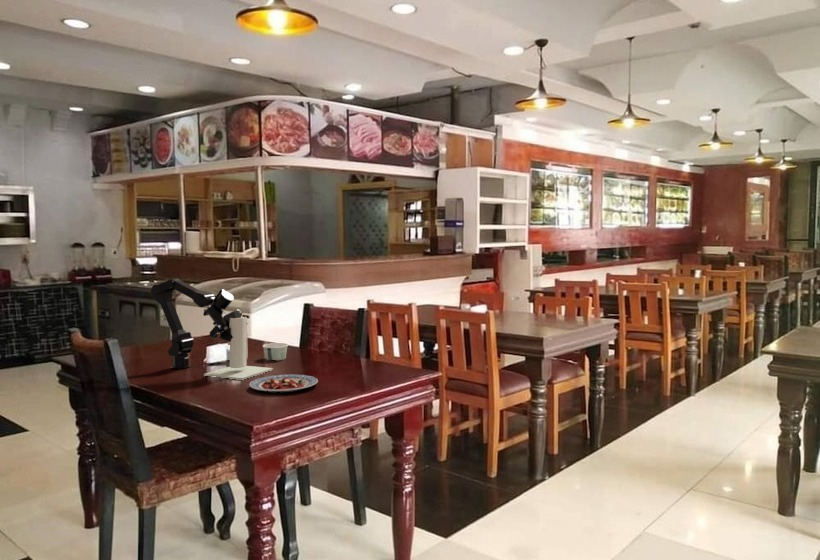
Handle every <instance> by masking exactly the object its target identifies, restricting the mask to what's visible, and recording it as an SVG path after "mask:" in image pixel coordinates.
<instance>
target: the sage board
mask: <svg viewBox="0 0 820 560" xmlns="http://www.w3.org/2000/svg"><path fill="white" fill-rule="evenodd" d="M272 370H273V371H274V368H273V367H264V366H263V367H262V366H255V365H253V366H252V365H245V367H242V368H234V369H232V368H230V366H227V367H223V368H220V369H217V370H213V371H209V372H206V373H204V374H203V377H205V376H216V377H223V378H229V379H228V380H232V379H236V380H235V381H241V380H242V381H245V380H244V379H246V380H248V379H247V378H249V379H251V378H250V377H252V378H254V377H253V376H255V377H257V375H258V376H261V375H264V374H266V373H265V372H267V373H269V372H268V371H270V372H271V371H272ZM273 371H272V372H273ZM263 373H264V374H263ZM260 374H261V375H260ZM223 378H222V379H223Z"/></svg>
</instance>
